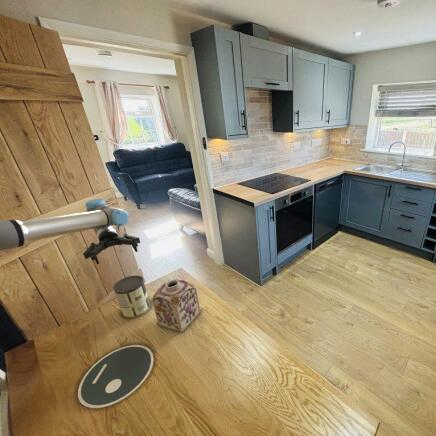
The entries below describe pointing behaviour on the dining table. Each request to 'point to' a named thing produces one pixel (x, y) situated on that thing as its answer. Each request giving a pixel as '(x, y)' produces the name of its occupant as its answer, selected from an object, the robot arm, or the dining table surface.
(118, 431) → the dining table surface
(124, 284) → the coffee can
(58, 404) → the dining table surface
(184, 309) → the decorative jar
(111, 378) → the board
